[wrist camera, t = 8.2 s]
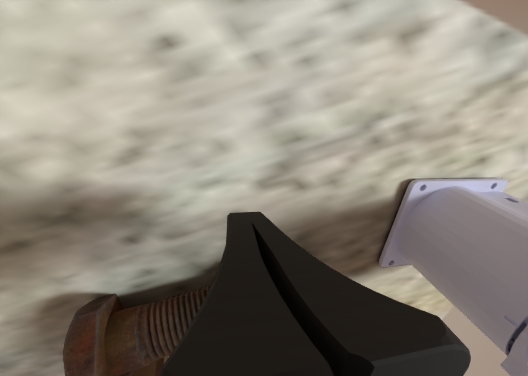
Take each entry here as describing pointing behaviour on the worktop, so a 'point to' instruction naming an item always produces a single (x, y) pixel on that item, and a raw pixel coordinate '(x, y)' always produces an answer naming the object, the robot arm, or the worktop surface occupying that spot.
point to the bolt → (126, 334)
